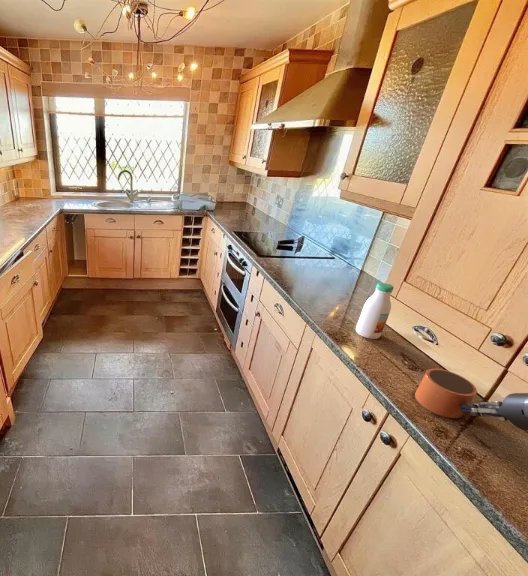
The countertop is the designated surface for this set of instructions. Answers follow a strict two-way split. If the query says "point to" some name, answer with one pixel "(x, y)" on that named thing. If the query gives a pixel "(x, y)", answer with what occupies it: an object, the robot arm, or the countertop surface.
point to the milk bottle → (375, 312)
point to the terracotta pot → (444, 392)
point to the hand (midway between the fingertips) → (463, 408)
